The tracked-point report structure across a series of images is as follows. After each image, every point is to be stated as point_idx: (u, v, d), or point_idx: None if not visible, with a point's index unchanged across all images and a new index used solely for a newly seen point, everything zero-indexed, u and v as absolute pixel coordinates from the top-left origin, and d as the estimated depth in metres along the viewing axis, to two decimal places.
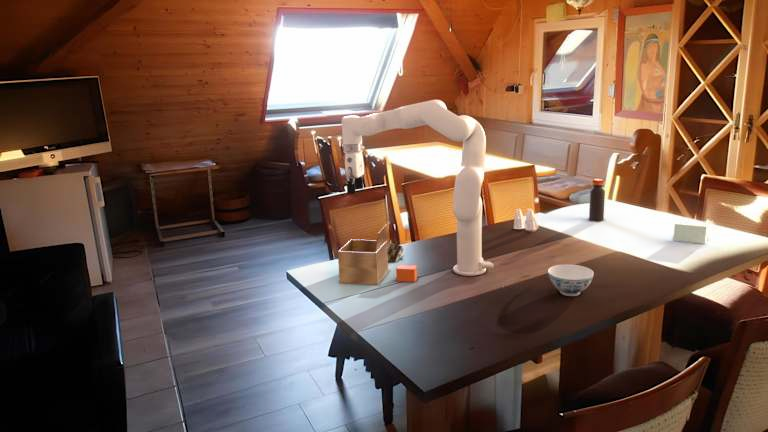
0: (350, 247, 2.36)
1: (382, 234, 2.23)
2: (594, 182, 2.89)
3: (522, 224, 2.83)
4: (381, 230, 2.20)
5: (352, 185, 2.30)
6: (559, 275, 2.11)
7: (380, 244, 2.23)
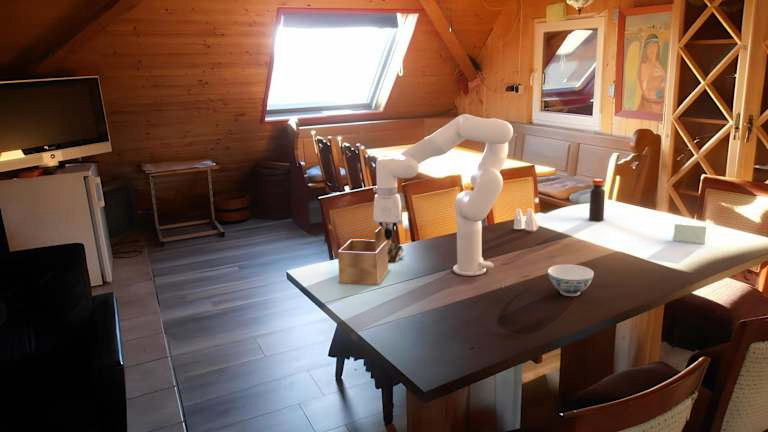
0: (350, 247, 2.36)
1: (380, 234, 2.23)
2: (594, 182, 2.89)
3: (522, 224, 2.83)
4: (378, 230, 2.20)
5: (385, 230, 2.23)
6: (559, 275, 2.11)
7: (379, 244, 2.23)
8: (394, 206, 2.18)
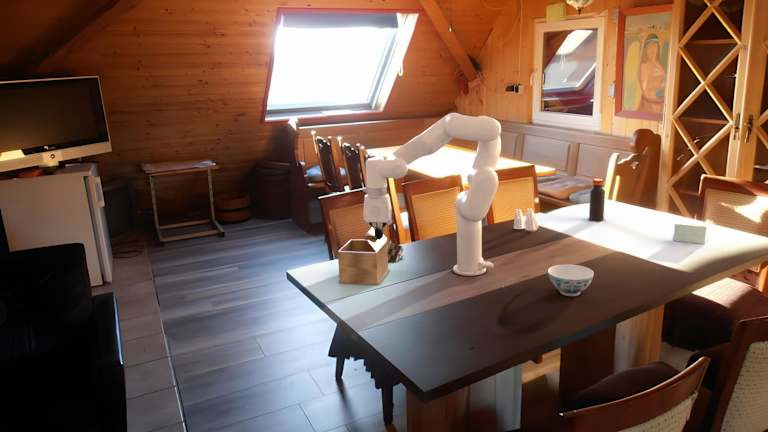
0: (350, 247, 2.36)
1: (372, 236, 2.24)
2: (594, 182, 2.89)
3: (522, 224, 2.83)
4: (366, 233, 2.22)
5: (375, 230, 2.24)
6: (559, 275, 2.11)
7: (377, 244, 2.23)
8: (384, 206, 2.19)
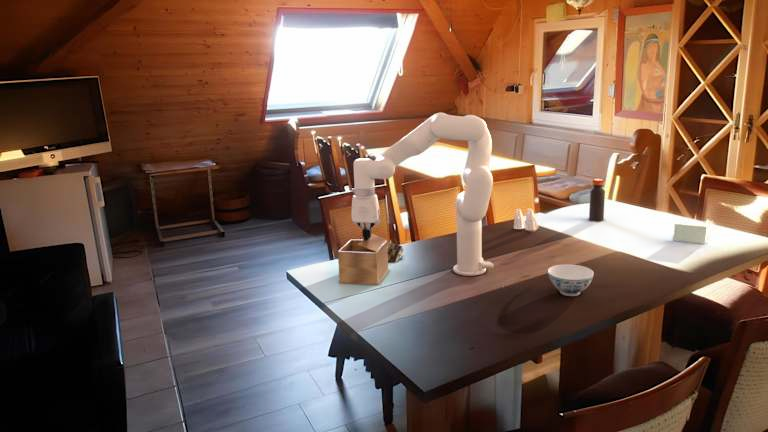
0: (350, 247, 2.36)
1: (368, 241, 2.25)
2: (594, 182, 2.89)
3: (522, 224, 2.83)
4: None
5: (363, 230, 2.25)
6: (559, 275, 2.11)
7: (376, 246, 2.23)
8: (371, 206, 2.20)
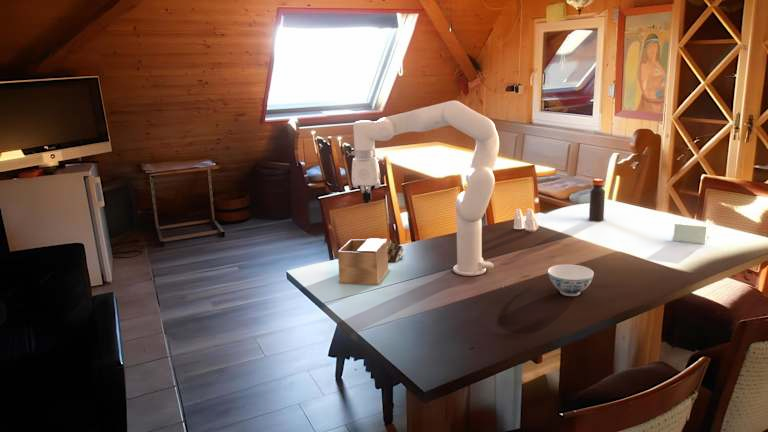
0: (350, 247, 2.36)
1: (368, 245, 2.26)
2: (594, 182, 2.89)
3: (522, 224, 2.83)
4: (360, 247, 2.24)
5: (363, 194, 2.24)
6: (559, 275, 2.11)
7: (376, 247, 2.24)
8: (372, 169, 2.19)
